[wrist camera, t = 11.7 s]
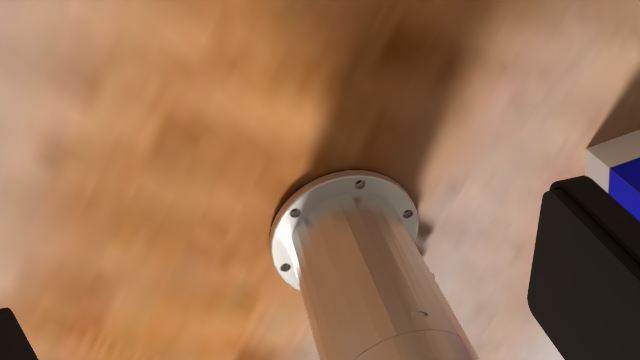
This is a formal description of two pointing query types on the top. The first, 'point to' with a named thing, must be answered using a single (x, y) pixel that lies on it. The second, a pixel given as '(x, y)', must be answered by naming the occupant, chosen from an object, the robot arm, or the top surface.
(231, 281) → the top surface
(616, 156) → the puzzle toy
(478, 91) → the top surface
